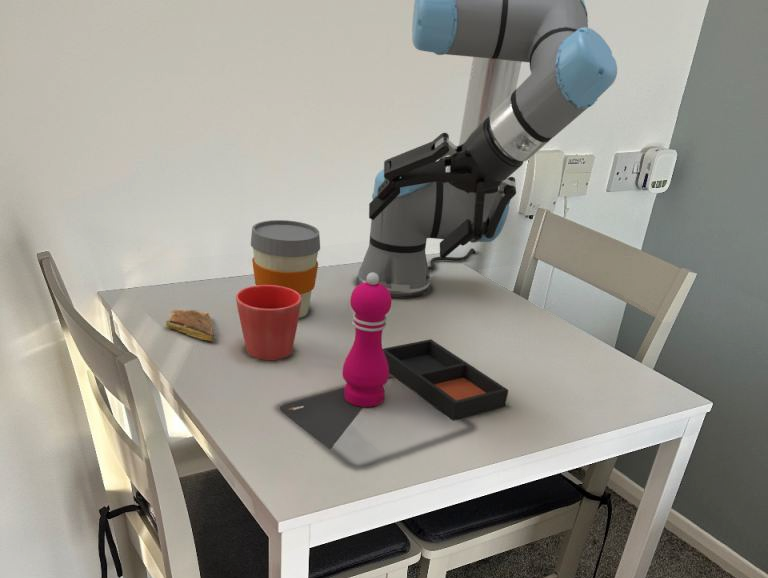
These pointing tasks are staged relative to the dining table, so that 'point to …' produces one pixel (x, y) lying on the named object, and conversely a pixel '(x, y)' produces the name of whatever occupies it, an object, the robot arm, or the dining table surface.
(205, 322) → the sandwich
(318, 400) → the mouse pad
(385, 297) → the pepper mill
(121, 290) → the dining table surface
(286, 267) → the reusable coffee cup
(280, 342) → the flower pot
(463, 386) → the tray
